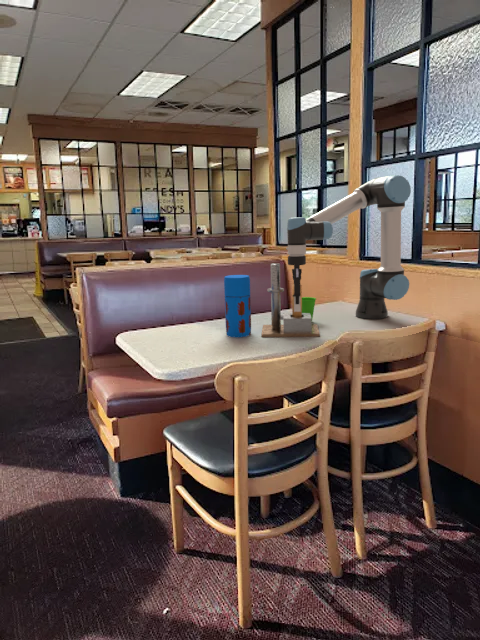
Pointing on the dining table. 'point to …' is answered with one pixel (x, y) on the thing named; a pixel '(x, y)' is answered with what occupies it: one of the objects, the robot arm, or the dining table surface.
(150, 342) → the dining table surface
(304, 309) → the cup
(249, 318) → the thermos
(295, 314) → the pin
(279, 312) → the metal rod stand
